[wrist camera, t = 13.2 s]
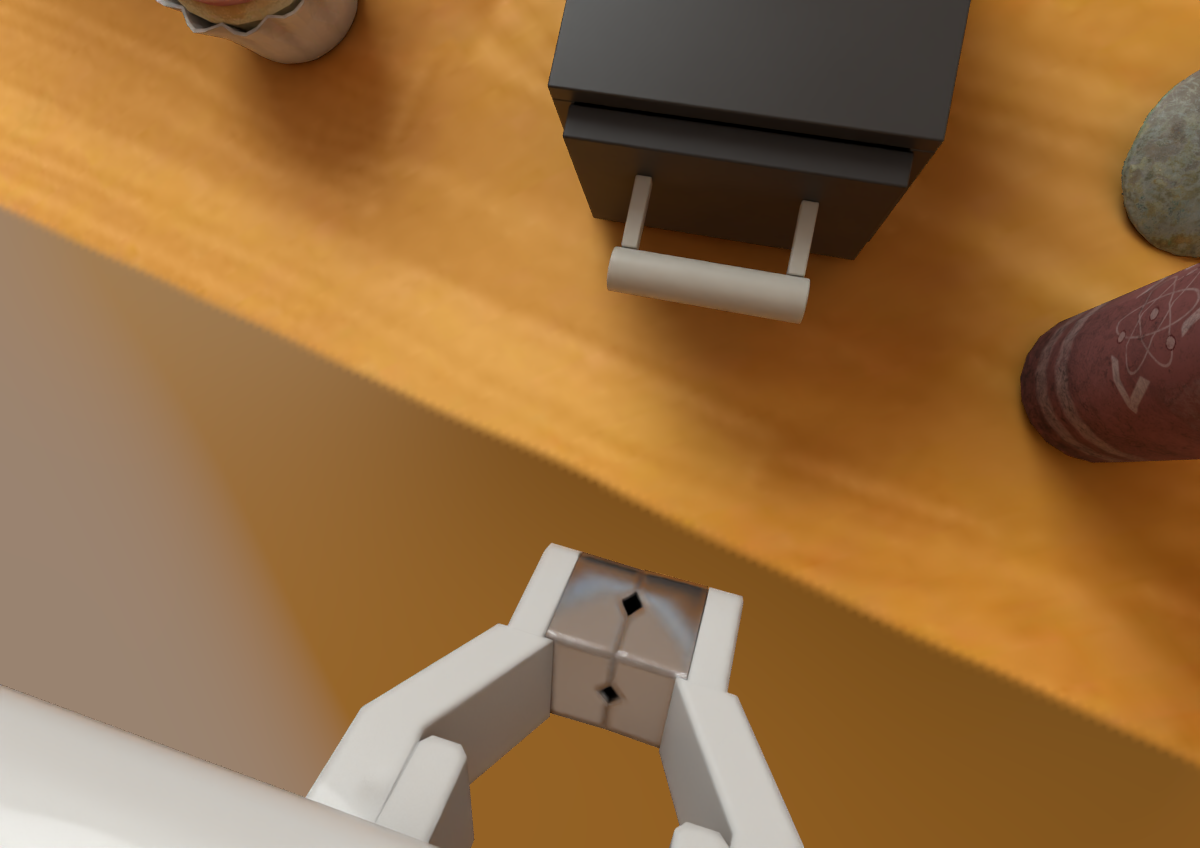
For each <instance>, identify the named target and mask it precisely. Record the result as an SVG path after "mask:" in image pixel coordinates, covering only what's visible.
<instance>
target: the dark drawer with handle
mask: <svg viewBox="0 0 1200 848" xmlns="http://www.w3.org/2000/svg"><path fill="white" fill-rule="evenodd" d="M606 107H607V109H601V108H594V107H587V106H580V105H573V104H571V105H570V106H569V109H568V113H567V118H566V123H565V127H564V132H563V138H564V141H565V144H566V146H567V149H568V152H569V154H570V157H571V159H572V162H573V165H574V167H575V170H576V173H577V175H578V178H579V180H580V183H581V186H582V188H583V191H584V194H585V196H586V199H587V201H588V204H589V207H590V209H591V212H592V215H593V217H594V218H599V219H605V220H611V221H617V222H623V223H626V224H625V229H624V234H623V239H622V243H621V245H622V247H618V246H616V247H615V248H614V249H613V251H612V254H611V258H610V262H609V267H608V274H607V288H608V290H610V291H615V292H621V293H626V294H632V295H638V296H643V297H649V298H655V299H660V300H666V301H672V302H677V303H683V304H689V305H694V306H700V307H706V308H711V309H717V310H722V311H728V312H734V313H739V314H745V315H751V316H756V317H762V318H768V319H773V320H779V321H785V322H790V323H796V324H800V323H801V321H802V319H803V316H804V312H805V309H806V305H807V300H808V295H809V290H810V279H808V278H804V276H805V273H806V268H807V263H808V258H809V253H813V254H820V255H826V256H832V257H838V258H844V259H850V260H854V259H855V258H856V256H857V255H858V254H859V252H860V251H861V250H862V248H863V247H864V245H865V244H866V243H867V241H868V240H869V239H870V237H871V236H872V235H873V233H874V232H875V231H876V229H877V228H878V226H879V225H880V224H881V222H882V221H883V220H884V218H885V217H886V216H887V214H888V213H889V211H890V210H891V209H892V207H893V206H894V205H895V203H896V202H897V201H898V199H899V198H900V197H901V195H902V194H903V192H904V191H905V190H906V188H907V187H908V183H909V178H910V173H911V168H912V162H913V157H914V154H913V153H912V152H905V151H898V150H891V149H884V148H878V147H879V145H880V144H876V143H868V142H861V141H854V140H847V139H840V138H833V137H826V136H819V135H812V134H804V133H797V132H790V131H783V130H776V129H769V128H762V127H755V126H748V125H741V124H733V123H726V122H719V121H712V120H705V119H698V118H691V117H684V116H677V115H669V114H662V113H655V112H648V111H641V110H634V109H627V108H620V107H613V106H606ZM644 226H648V227H654V228H660V229H666V230H672V231H679V232H685V233H691V234H697V235H703V236H709V237H715V238H722V239H728V240H734V241H740V242H746V243H752V244H758V245H764V246H771V247H777V248H783V249H789V250H791V254H790V259H789V264H788V269H787V274H786V275H784V274H778V273H772V272H766V271H761V270H755V269H749V268H743V267H737V266H731V265H725V264H719V263H713V262H707V261H701V260H695V259H689V258H683V257H677V256H671V255H665V254H659V253H653V252H647V251H641V250H639V246H640V241H641V236H642V231H643V227H644Z"/></svg>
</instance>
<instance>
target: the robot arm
mask: <svg viewBox="0 0 1200 848" xmlns="http://www.w3.org/2000/svg"><path fill="white" fill-rule="evenodd" d="M707 591H708V592H707ZM742 607H743V597H742V596H739V595H736V594H732V593H728V592H725V591H721V590H718V589H714V588H709V589H708V586H705V585H701V584H698V583H694V582H690V581H686V580H682V579H678V578H675V577H671V576H667V575H663V574H660V573H656V572H652V571H648V570H641V569H637V568H634V567H631V566H627V565H624V564H621V563H618V562H614V561H611V560H607V559H604V558H601V557H598V556H595V555H591V554H588V553H585V552H581V551H577V550H574V549H570V548H567V547H564V546H560V545H557V544H553V543H551V544H550V545H549V546H548V547H547V548H546V550H545V551H544V553H543V555H542V557H541V559H540V561H539V563H538V565H537V567H536V569H535V571H534V573H533V575H532V577H531V579H530V581H529V583H528V585H527V588H526V590H525V592H524V594H523V596H522V598H521V600H520V602H519V604H518V606H517V608H516V610H515V612H514V614H513V616H512V618H511V620H510V622H509V624H508V626H506V625H502V624H497V625H495V626H494V627H492V628H490V629H489V630H487V631H485V632H484V633H482V634H480V635H479V636H477V637H476V638H474V639H472V640H471V641H469V642H467V643H466V644H464V645H463V646H461V647H459V648H458V649H456V650H454V651H453V652H451V653H449V654H448V655H447V656H445V657H443V658H441V659H440V660H438V661H436V662H435V663H433V664H432V665H430V666H428V667H427V668H425V669H423V670H422V671H420V672H418V673H417V674H415V675H414V676H412V677H410V678H409V679H407V680H405V681H404V682H402V683H401V684H399V685H397V686H396V687H394V688H392V689H391V690H389V691H388V692H386V693H384V694H383V695H381V696H379V697H378V698H376V699H374V700H373V701H371V702H370V703H368V704H366V705H365V706H363V707H362V708H361V709H360V711H359V712H358V714H357V716H356V717H355V719H354V720H353V722H352V724H351V725H350V727H349V728H348V730H347V732H346V733H345V735H344V736H343V738H342V740H341V741H340V743H339V745H338V746H337V748H336V749H335V751H334V752H333V754H332V756H331V757H330V759H329V761H328V762H327V764H326V766H325V767H324V769H323V770H322V772H321V774H320V775H319V777H318V778H317V780H316V781H315V783H314V785H313V786H312V788H311V790H310V791H309V793H308V794H307V796H306V797H303V796H300V795H297V794H295V793H292V792H289V791H287V790H284V789H281V788H278V787H276V786H273V785H270V784H268V783H265V782H262V781H260V780H257V779H254V778H251V777H249V776H246V775H243V774H241V773H238V772H235V771H233V770H230V769H227V768H225V767H222V766H219V765H217V764H214V763H211V762H208V761H206V760H203V759H200V758H198V757H195V756H192V755H189V754H187V753H184V752H181V751H179V750H176V749H173V748H171V747H168V746H165V745H163V744H160V743H157V742H155V741H152V740H149V739H147V738H144V737H141V736H138V735H136V734H133V733H130V732H127V731H125V730H122V729H120V728H117V727H114V726H112V725H109V724H106V723H103V722H101V721H98V720H95V719H93V718H90V717H87V716H85V715H82V714H79V713H76V712H74V711H71V710H68V709H66V708H63V707H60V706H58V705H55V704H52V703H50V702H47V701H44V700H42V699H39V698H36V697H33V696H31V695H28V694H25V693H23V692H20V691H17V690H15V689H12V688H9V687H7V686H4V685H1V684H0V848H471V846H472V843H473V841H474V833H473V821H472V810H471V799H470V787H469V785H470V784H471V783H472V782H473V781H474V780H475V779H477V778H478V777H479V776H480V775H481V774H483V773H484V772H485V771H486V770H487V769H488V768H490V767H491V766H492V765H493V764H494V763H496V762H497V761H498V760H499V759H500V758H501V757H503V756H504V755H505V754H506V753H507V752H509V751H510V750H511V749H512V748H513V747H514V746H516V745H517V744H518V743H519V742H520V741H521V740H523V739H524V738H525V737H526V736H527V735H528V734H530V733H531V732H532V731H533V730H534V729H536V728H537V727H538V726H539V725H540V724H542V723H543V722H544V721H545V720H546V719H547V718H548V717H550V713H552V714H556V715H559V716H563V717H566V718H570V719H573V720H576V721H579V722H583V723H586V724H590V725H593V726H597V727H600V728H603V729H606V730H609V731H612V732H615V733H618V734H620V735H623V736H626V737H629V738H632V739H635V740H637V741H640V742H643V743H646V744H649V745H652V746H655V747H657V748H660V749H659V752H660V756H661V760H662V764H663V767H664V771H665V774H666V778H667V782H668V785H669V789H670V793H671V796H672V800H673V803H674V807H675V811H676V814H677V818H678V821H679V825H680V826H679V827H677V828H676V829H675V831H674V834H673V838H672V841H671V844H670V848H804V846H803V844H802V841H801V839H800V837H799V835H798V832H797V830H796V828H795V826H794V823H793V821H792V819H791V816H790V814H789V812H788V810H787V807H786V805H785V803H784V801H783V798H782V797H781V794H780V792H779V789H778V787H777V785H776V783H775V780H774V778H773V776H772V774H771V771H770V769H769V767H768V765H767V762H766V760H765V758H764V755H763V753H762V751H761V749H760V746H759V744H758V742H757V740H756V737H755V735H754V733H753V731H752V728H751V726H750V724H749V721H748V719H747V717H746V715H745V713H744V710H743V708H742V706H741V703H740V701H739V699H738V697H737V696H736V695H733V694H730V693H727V690H728V684H729V679H730V673H731V668H732V663H733V657H734V651H735V646H736V640H737V634H738V629H739V624H740V618H741V613H742Z"/></svg>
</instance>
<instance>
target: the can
mask: <svg viewBox="0 0 1200 848" xmlns="http://www.w3.org/2000/svg"><path fill="white" fill-rule="evenodd" d="M1020 379H1021V397H1022V403H1023V405H1024V408H1025V410H1026V413H1027V415H1028V418H1029V420H1030V423H1031V424H1032V425H1033V426H1034V428H1035V429H1036V430H1037V431H1038V432H1039V434H1040V435H1041V436H1042V437H1043V438H1044V439H1045V441H1046V442H1048V443H1049V444H1051V445H1052V446H1054V447H1055V448H1057V449H1059V450H1060V451H1062V452H1063V453H1065V454H1066V455H1068V456H1072V457H1075V458H1079V459H1082V460H1086V461H1089V462H1135V461H1162V460H1189V459H1200V263H1198V264H1196V265H1193V266H1191V267H1189V268H1186V269H1184V270H1182V271H1179V272H1177V273H1174V274H1172V275H1170V276H1167V277H1165V278H1163V279H1160V280H1158V281H1156V282H1153V283H1151V284H1149V285H1146V286H1144V287H1142V288H1139V289H1137V290H1134V291H1132V292H1130V293H1127V294H1125V295H1123V296H1120V297H1118V298H1116V299H1113V300H1111V301H1109V302H1106V303H1104V304H1101V305H1099V306H1097V307H1094V308H1092V309H1090V310H1087V311H1085V312H1083V313H1080V314H1078V315H1076V316H1073V317H1071V318H1068V319H1066V320H1064V321H1061V322H1059V323H1058V324H1057V325H1055V326H1054V327H1053V328H1051V329H1050V330H1049V331H1047V332H1046V333H1044V334H1043V335H1042V336H1040V338H1039V339H1038V341H1037V342H1036V343H1035V345H1034V346H1033V348H1032V349H1031V350H1030V352H1029V353H1028V355H1027V357H1026V360H1025V364H1024V367H1023V371H1022V374H1021V378H1020Z"/></svg>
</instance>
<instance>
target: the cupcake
mask: <svg viewBox="0 0 1200 848" xmlns="http://www.w3.org/2000/svg"><path fill="white" fill-rule="evenodd" d="M156 1H157V2H159V3H160V4H162V5H164V6H166V7H169V8H172V9H175V10H178V11H181V12H182V13H183V15H184V18H185V20H186V23H187V26H188V27H189V28H190V29H191V30H192V31H193V32H194V33H199V34H204V35H210V36H215V37H220V38H226V39H228V40H231V41H233V42H235V43H237V44H239V45H241V46H244V47H246V48H248V49H250V50H251V51H253V52H255V53H257V54H259V55H260V56H262V57H264V58H266V59H269V60H272V61H276V62H279V63H285V64H291V63H303V62H308V61H311V60H315V59H318V58H319V57H321V56H323V55H324V54H326V53H327V52H329V51H330V50H332V49H333V48H334V47H335V46H336V45H337V44H338V43H339V42H340V41H341V40H342V39H343V38H344V37H345V35H346V33H347V32H348V30H349V28H350V27H351V25H352V22H353V20H354V17H355V14H356V11H357V2H358V0H156Z"/></svg>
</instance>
